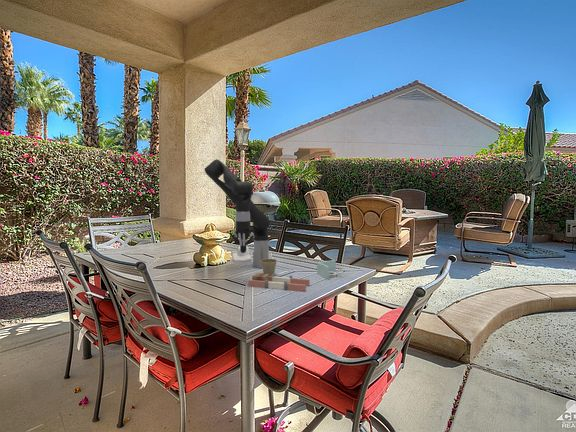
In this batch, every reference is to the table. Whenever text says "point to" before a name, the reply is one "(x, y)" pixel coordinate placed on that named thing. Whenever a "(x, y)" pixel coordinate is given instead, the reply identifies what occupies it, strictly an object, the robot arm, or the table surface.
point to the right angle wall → (327, 269)
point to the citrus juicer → (241, 256)
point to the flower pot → (268, 266)
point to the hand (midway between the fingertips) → (243, 252)
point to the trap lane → (281, 283)
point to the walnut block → (260, 277)
